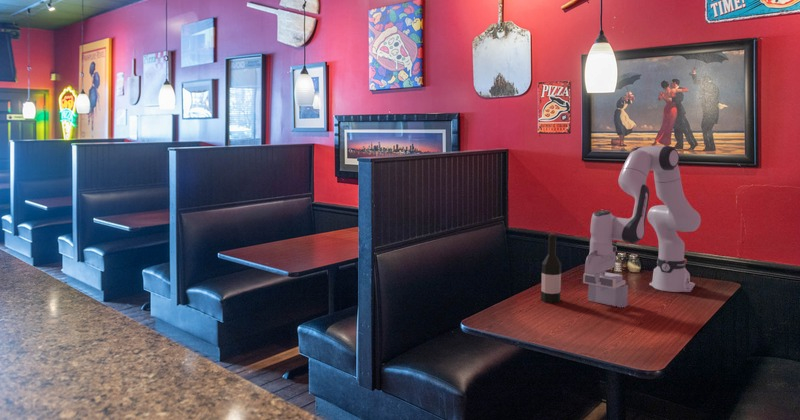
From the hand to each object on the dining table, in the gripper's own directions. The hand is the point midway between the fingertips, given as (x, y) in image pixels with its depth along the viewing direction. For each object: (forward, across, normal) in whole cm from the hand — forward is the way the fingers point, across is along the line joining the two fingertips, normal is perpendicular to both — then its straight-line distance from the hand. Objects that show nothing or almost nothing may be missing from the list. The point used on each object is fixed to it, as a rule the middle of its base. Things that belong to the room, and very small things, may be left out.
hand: (599, 281), depth 256 cm
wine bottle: (+11, -5, +20) cm, 24 cm away
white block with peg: (+11, +5, 0) cm, 12 cm away
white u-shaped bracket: (+2, +4, 0) cm, 5 cm away
